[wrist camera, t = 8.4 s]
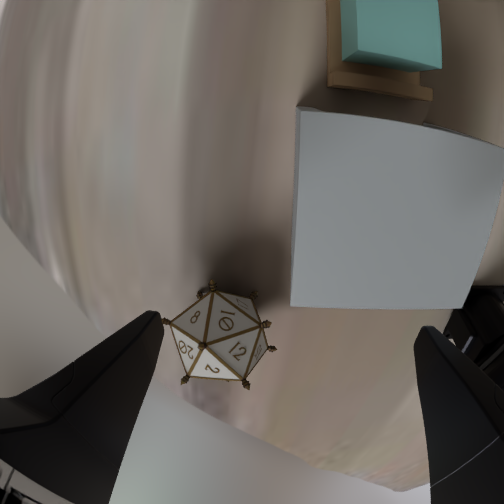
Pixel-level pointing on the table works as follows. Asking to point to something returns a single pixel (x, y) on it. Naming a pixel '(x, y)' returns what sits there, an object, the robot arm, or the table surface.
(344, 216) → the tunnel
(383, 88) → the tan plank with cube
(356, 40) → the block
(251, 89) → the table surface
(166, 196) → the table surface
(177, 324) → the game die
